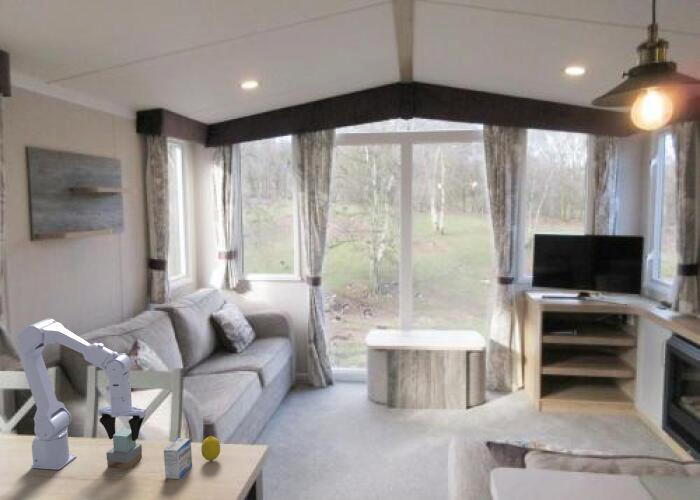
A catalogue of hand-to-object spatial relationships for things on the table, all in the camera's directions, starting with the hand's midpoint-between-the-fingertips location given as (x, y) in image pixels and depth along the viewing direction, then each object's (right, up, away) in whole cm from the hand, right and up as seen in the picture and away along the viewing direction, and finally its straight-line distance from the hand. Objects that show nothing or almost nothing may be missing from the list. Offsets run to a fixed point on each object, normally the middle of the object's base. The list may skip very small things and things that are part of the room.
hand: (123, 438), depth 160 cm
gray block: (0, -6, +1) cm, 6 cm away
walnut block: (0, -8, +1) cm, 8 cm away
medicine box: (+18, -8, -5) cm, 21 cm away
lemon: (+26, -7, +1) cm, 27 cm away
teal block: (0, -3, 0) cm, 3 cm away
